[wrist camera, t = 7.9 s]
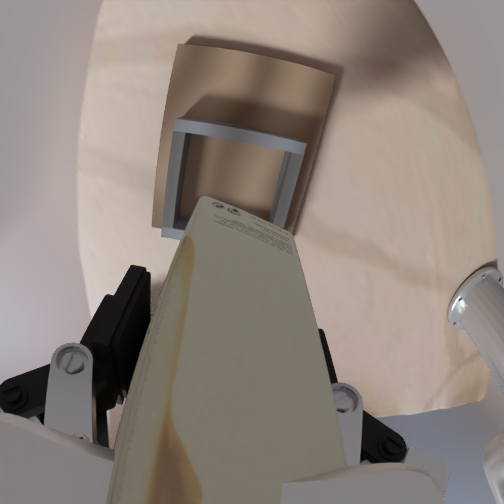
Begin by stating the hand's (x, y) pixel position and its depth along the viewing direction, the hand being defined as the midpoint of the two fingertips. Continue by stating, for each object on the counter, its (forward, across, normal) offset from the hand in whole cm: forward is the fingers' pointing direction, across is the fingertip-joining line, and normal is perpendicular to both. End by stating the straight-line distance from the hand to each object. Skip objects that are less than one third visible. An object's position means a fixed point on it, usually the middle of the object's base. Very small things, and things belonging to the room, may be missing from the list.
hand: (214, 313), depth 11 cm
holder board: (+19, 0, -3) cm, 19 cm away
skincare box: (+3, 0, 0) cm, 3 cm away
